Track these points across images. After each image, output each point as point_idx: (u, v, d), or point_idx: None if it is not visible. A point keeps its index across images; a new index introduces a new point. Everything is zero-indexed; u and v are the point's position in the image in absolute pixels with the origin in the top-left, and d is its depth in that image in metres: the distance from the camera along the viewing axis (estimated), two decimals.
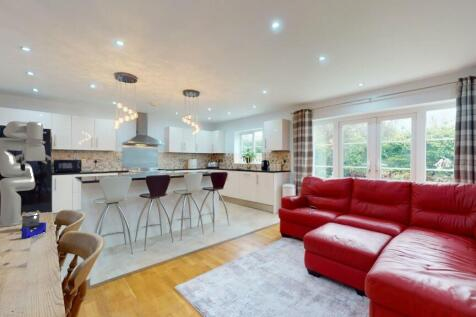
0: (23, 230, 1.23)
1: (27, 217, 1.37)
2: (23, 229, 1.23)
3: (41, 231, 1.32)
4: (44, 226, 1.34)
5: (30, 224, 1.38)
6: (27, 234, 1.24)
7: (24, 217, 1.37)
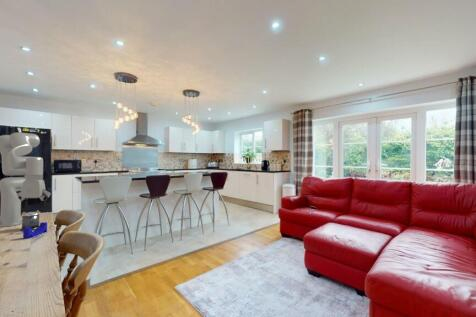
0: (25, 230, 1.23)
1: (27, 217, 1.37)
2: (25, 229, 1.23)
3: (42, 231, 1.32)
4: (45, 226, 1.34)
5: (30, 224, 1.38)
6: (29, 234, 1.24)
7: (24, 217, 1.37)
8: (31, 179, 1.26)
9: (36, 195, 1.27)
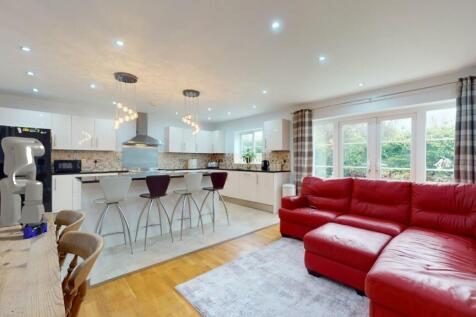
0: (25, 230, 1.23)
1: None
2: (25, 229, 1.23)
3: None
4: (45, 226, 1.34)
5: (30, 224, 1.38)
6: (29, 234, 1.24)
7: None
8: (30, 205, 1.26)
9: (35, 221, 1.27)
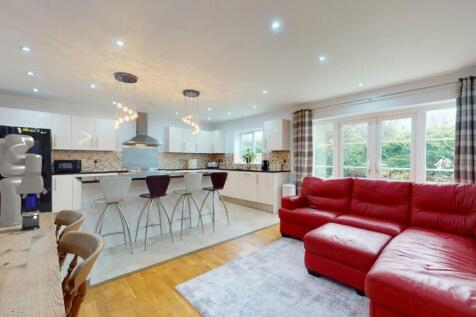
0: (28, 199, 1.31)
1: (27, 217, 1.37)
2: (28, 198, 1.31)
3: None
4: None
5: (30, 224, 1.38)
6: (32, 202, 1.32)
7: (24, 217, 1.37)
8: (33, 176, 1.34)
9: (38, 191, 1.35)
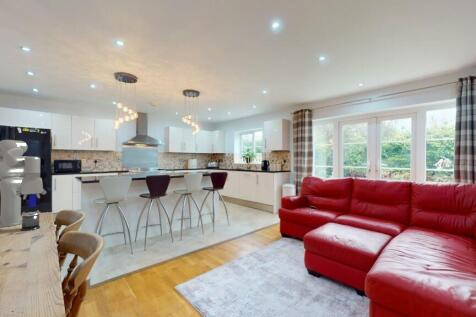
0: (31, 199, 1.37)
1: (27, 217, 1.37)
2: (31, 198, 1.37)
3: None
4: None
5: (30, 224, 1.38)
6: (35, 202, 1.38)
7: (24, 217, 1.37)
8: (35, 177, 1.39)
9: (39, 191, 1.41)
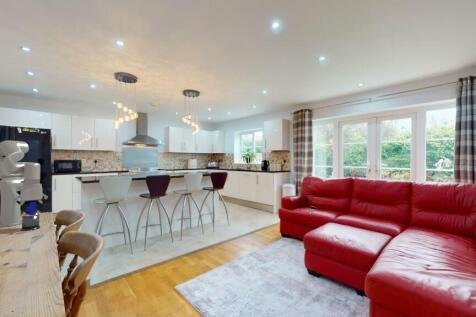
0: (31, 207, 1.37)
1: (27, 217, 1.37)
2: (31, 206, 1.37)
3: None
4: (35, 205, 1.46)
5: (30, 224, 1.38)
6: (35, 210, 1.38)
7: (24, 217, 1.37)
8: (34, 183, 1.39)
9: (39, 197, 1.41)
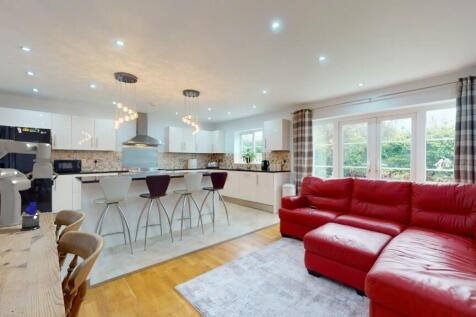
0: (31, 207, 1.37)
1: (27, 217, 1.37)
2: (31, 206, 1.37)
3: None
4: (35, 205, 1.46)
5: (30, 224, 1.38)
6: (35, 210, 1.38)
7: (24, 217, 1.37)
8: (45, 162, 1.49)
9: (49, 176, 1.51)
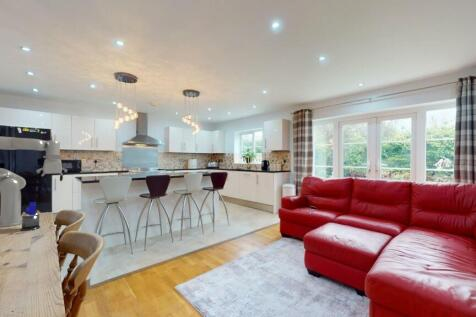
0: (31, 207, 1.37)
1: (27, 217, 1.37)
2: (31, 206, 1.37)
3: None
4: (35, 205, 1.46)
5: (30, 224, 1.38)
6: (35, 210, 1.38)
7: (24, 217, 1.37)
8: (55, 158, 1.59)
9: (59, 171, 1.61)
